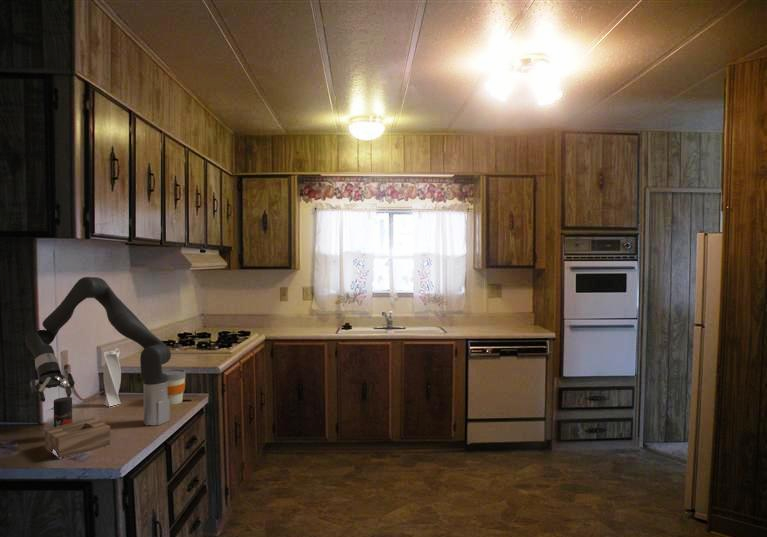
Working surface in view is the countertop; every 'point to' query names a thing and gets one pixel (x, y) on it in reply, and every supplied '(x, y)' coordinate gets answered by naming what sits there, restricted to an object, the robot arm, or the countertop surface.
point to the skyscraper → (112, 377)
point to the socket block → (77, 437)
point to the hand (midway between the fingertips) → (56, 398)
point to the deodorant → (62, 411)
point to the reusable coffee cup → (175, 385)
